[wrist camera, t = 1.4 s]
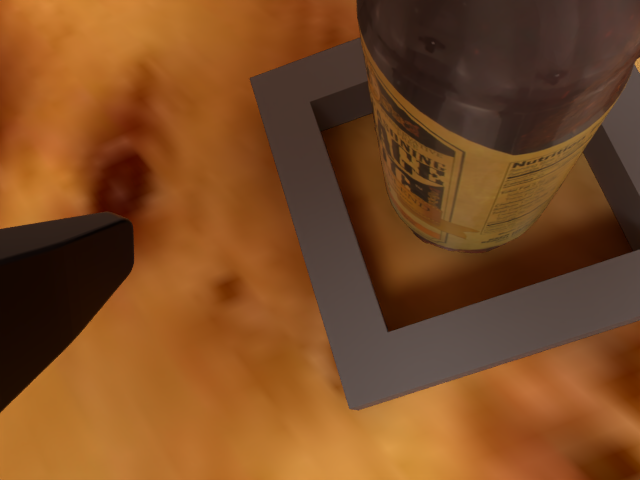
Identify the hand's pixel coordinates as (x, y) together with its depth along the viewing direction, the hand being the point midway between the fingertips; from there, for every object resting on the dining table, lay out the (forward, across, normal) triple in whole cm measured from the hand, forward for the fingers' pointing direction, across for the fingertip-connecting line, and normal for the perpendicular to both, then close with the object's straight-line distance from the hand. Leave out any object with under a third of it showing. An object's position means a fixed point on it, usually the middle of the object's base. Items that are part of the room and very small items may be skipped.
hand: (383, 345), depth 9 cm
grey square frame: (+16, +1, +4) cm, 16 cm away
